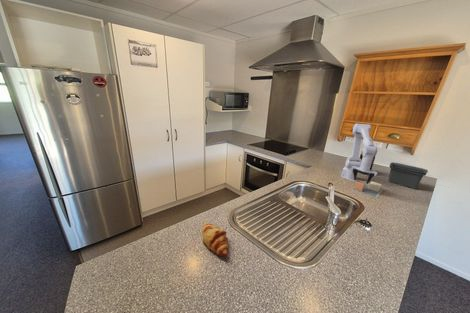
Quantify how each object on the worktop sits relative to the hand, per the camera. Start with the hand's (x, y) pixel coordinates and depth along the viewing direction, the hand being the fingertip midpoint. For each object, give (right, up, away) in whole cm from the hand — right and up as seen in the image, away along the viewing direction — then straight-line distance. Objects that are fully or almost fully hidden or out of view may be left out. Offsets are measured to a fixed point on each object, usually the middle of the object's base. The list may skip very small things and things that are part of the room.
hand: (360, 181), depth 129 cm
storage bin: (+44, -4, +16) cm, 47 cm away
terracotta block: (0, -6, +2) cm, 6 cm away
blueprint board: (+6, -6, +3) cm, 9 cm away
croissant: (-97, -19, -49) cm, 111 cm away
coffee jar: (+26, +3, +36) cm, 44 cm away
